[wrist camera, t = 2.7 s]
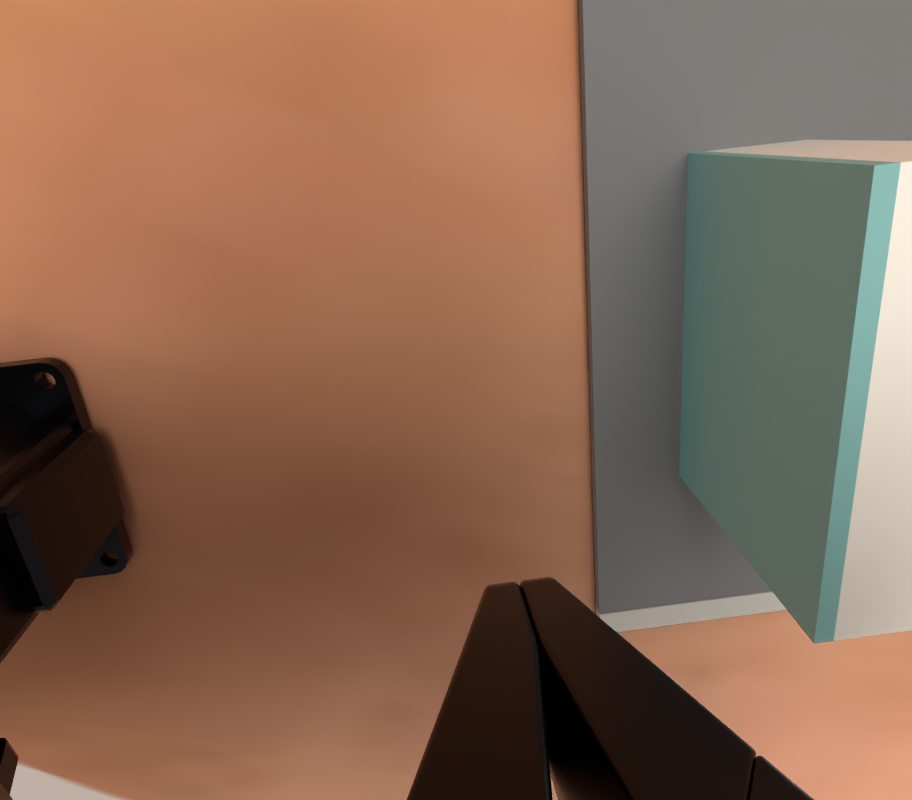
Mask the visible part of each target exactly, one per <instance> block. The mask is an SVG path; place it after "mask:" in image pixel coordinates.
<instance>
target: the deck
mask: <svg viewBox="0 0 912 800" xmlns="http://www.w3.org/2000/svg"><path fill="white" fill-rule="evenodd" d="M679 476H680V477H681V479H682V480H683V481H684V482H685V484H686V485H687V486H688V487H689V489H690V490H691V491H692V492H693V493H694V495H695V496H696V497H697V498H698V500H699V501H700V502H701V503H702V505H703V506H704V507H705V508H706V510H707V511H708V512H709V513H710V515H711V516H712V517H713V518H714V520H715V521H716V522H717V523H718V525H719V526H720V527H721V528H722V530H723V531H724V532H725V533H726V535H727V536H728V537H729V538H730V540H731V541H732V542H733V543H734V545H735V546H736V547H737V548H738V549H739V551H740V552H741V553H742V554H743V556H744V557H745V558H746V559H747V561H748V562H749V563H750V564H751V566H752V567H753V568H754V569H755V571H756V572H757V573H758V574H759V576H760V577H761V578H762V579H763V581H764V582H765V583H766V584H767V586H768V587H769V588H770V589H771V591H772V592H773V593H774V594H775V596H776V597H777V598H778V599H779V601H780V602H781V603H782V604H783V605H784V607H785V608H786V609H787V610H788V612H789V613H790V614H791V615H792V617H793V618H794V619H795V620H796V622H797V623H798V624H799V625H800V627H801V628H802V629H803V630H804V632H805V633H806V634H807V635H808V637H809V638H810V639H811V640H812V642H813V643H821V642H828V641H835V640H843V639H850V638H858V637H865V636H873V635H880V634H887V633H895V632H902V631H910V630H912V141H878V140H800V141H791V142H782V143H773V144H764V145H755V146H747V147H738V148H729V149H720V150H711V151H702V152H694V153H688V168H687V205H686V242H685V280H684V317H683V355H682V392H681V430H680V467H679Z"/></svg>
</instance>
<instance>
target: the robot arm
mask: <svg viewBox="0 0 912 800" xmlns="http://www.w3.org/2000/svg"><path fill="white" fill-rule="evenodd" d="M42 372H48V373H49V374H51V375H52V376H53V377H54V379H55V382H56V385H51V384H49V383H47V382H46V381H45V380H44V378H43V373H42ZM123 514H124V509H123V506H122V503H121V500H120V497H119V494H118V491H117V488H116V485H115V482H114V479H113V476H112V473H111V470H110V467H109V464H108V461H107V458H106V455H105V452H104V449H103V447H102V444H101V441H100V438H99V436H98V435H97V434H96V433H95V432H93V431H92V430H91V428H90V425H89V422H88V419H87V416H86V413H85V410H84V407H83V404H82V401H81V398H80V395H79V393H78V390H77V387H76V384H75V381H74V378H73V375H72V373H71V371H70V369H69V367H68V366H67V365H66V364H64V363H63V362H62V361H60V360H57V359H55V358H40V359H32V360H24V361H15V362H7V363H0V663H1V662H2V661H3V659H4V658H5V657H6V655H7V654H8V653H9V652H10V650H11V649H12V648H13V646H14V645H15V644H16V642H17V641H18V640H19V638H20V637H21V636H22V635H23V633H24V632H25V631H26V629H27V628H28V627H29V625H30V624H31V623H32V621H33V620H34V619H35V618H36V616H37V615H38V614H39V612H44V611H51V610H52V609H53V608H54V607H55V606H56V605H57V603H58V602H59V601H60V599H61V598H62V597H63V595H64V594H65V593H66V591H67V590H68V588H69V587H70V586H71V584H72V583H73V582H74V580H75V579H76V578H84V577H92V576H100V575H108V574H115V573H118V572H121V571H122V570H123V569H124V568H125V567H126V566H127V564H128V562H129V561H130V559H131V557H132V548H131V545H130V542H129V539H128V536H127V533H126V531H125V528H124V525H123V522H122V519H121V517H122V516H123ZM106 552H112V553H114V554H115V555H116V556H117V557H118V559H116V558H111V557H109V556H108V555H107V553H106ZM17 762H18V755H17V754H16V752H15V751H14V749H13V748H12V747H11V745H10V744H9V742H8V741H7V740H6V739H5V738H0V800H12V798H11V797H10V791H11V787H12V783H13V778H14V774H15V770H16V766H17ZM550 773H551V777H552V780H553V784H554V787H555V791H556V794H557V797H558V800H814V799H813V798H811V797H810V796H809V795H808V794H807V793H805V792H804V791H803V790H802V789H800V788H799V787H798V786H797V785H796V784H794V783H793V782H792V781H791V780H790V779H788V778H787V777H786V776H785V775H784V774H782V773H781V772H780V771H779V770H778V769H777V768H775V767H774V766H773V765H772V764H771V763H770V762H768V761H767V760H766V759H765V758H764V757H762V756H757V757H756V752H755V750H754V749H753V748H752V747H750V746H749V745H748V744H747V743H746V742H745V741H743V740H742V739H741V738H740V737H739V736H738V735H736V734H735V733H734V732H733V731H732V730H730V729H729V728H728V727H727V726H726V725H725V724H723V723H722V722H721V721H720V720H719V719H718V718H716V717H715V716H714V715H713V714H712V713H711V712H709V711H708V710H707V709H706V708H705V707H704V706H702V705H701V704H700V703H699V702H698V701H697V700H695V699H694V698H693V697H692V696H691V695H690V694H688V693H687V692H686V691H685V690H684V689H683V688H681V687H680V686H679V685H678V684H677V683H675V682H674V681H673V680H672V679H671V678H670V677H668V676H667V675H666V674H665V673H664V672H663V671H661V670H660V669H659V668H658V667H657V666H656V665H654V664H653V663H652V662H651V661H650V660H649V659H647V658H646V657H645V656H644V655H643V654H642V653H640V652H639V651H638V650H637V649H636V648H635V647H633V646H632V645H631V644H630V643H629V642H628V641H626V640H625V639H624V638H623V637H622V636H620V635H619V634H618V633H617V632H616V631H615V630H613V629H612V628H611V627H610V626H609V625H608V624H606V623H605V622H604V621H603V620H602V619H601V618H599V617H598V616H597V615H596V614H595V613H594V612H592V611H591V610H590V609H589V608H588V607H587V606H585V605H584V604H583V603H582V602H581V601H580V600H578V599H577V598H576V597H575V596H574V595H573V594H571V593H570V592H569V591H568V590H567V589H565V588H564V587H563V586H562V585H561V584H560V583H558V582H557V581H556V580H555V579H553V578H551V577H545V578H538V579H530V580H524V581H522V582H521V584H520V586H519V585H518V583H516V582H508V583H500V584H493V585H488V586H487V587H486V588H485V590H484V592H483V595H482V598H481V601H480V603H479V606H478V609H477V611H476V614H475V617H474V619H473V622H472V625H471V628H470V630H469V633H468V636H467V638H466V641H465V644H464V646H463V649H462V652H461V655H460V657H459V660H458V663H457V665H456V668H455V671H454V674H453V676H452V679H451V682H450V684H449V687H448V690H447V692H446V695H445V698H444V701H443V703H442V706H441V709H440V711H439V714H438V717H437V720H436V722H435V725H434V728H433V730H432V733H431V736H430V738H429V741H428V744H427V747H426V749H425V752H424V755H423V757H422V760H421V763H420V765H419V768H418V771H417V774H416V776H415V779H414V782H413V784H412V787H411V790H410V793H409V795H408V798H407V800H552V789H551V777H550Z"/></svg>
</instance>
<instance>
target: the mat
mask: <svg viewBox="0 0 912 800" xmlns="http://www.w3.org/2000/svg"><path fill="white" fill-rule="evenodd" d="M578 4H579V38H580V73H581V107H582V141H583V176H584V210H585V244H586V279H587V313H588V347H589V382H590V416H591V450H592V485H593V519H594V553H595V588H596V615H597V616H598V617H599V618H601V619H602V620H603V621H604V622H605V623H606V624H608V625H609V626H610V627H611V628H612V629H613V630H615V631H616V632H623V631H630V630H638V629H645V628H653V627H661V626H668V625H676V624H683V623H691V622H698V621H706V620H713V619H721V618H728V617H736V616H743V615H751V614H758V613H766V612H773V611H781V610H787V609H786V608H785V607H784V605H783V604H782V603H781V602H780V601H779V599H778V598H777V597H776V596H775V594H774V593H773V592H772V591H771V589H770V588H769V587H768V586H767V584H766V583H765V582H764V581H763V579H762V578H761V577H760V576H759V574H758V573H757V572H756V571H755V569H754V568H753V567H752V566H751V564H750V563H749V562H748V561H747V559H746V558H745V557H744V556H743V554H742V553H741V552H740V551H739V549H738V548H737V547H736V546H735V545H734V543H733V542H732V541H731V540H730V538H729V537H728V536H727V535H726V533H725V532H724V531H723V530H722V528H721V527H720V526H719V525H718V523H717V522H716V521H715V520H714V518H713V517H712V516H711V515H710V513H709V512H708V511H707V510H706V508H705V507H704V506H703V505H702V503H701V502H700V501H699V500H698V498H697V497H696V496H695V495H694V493H693V492H692V491H691V490H690V489H689V487H688V486H687V485H686V484H685V482H684V481H683V480H682V479H681V477H680V476H679V467H680V430H681V392H682V355H683V317H684V280H685V242H686V205H687V168H688V153H694V152H702V151H711V150H720V149H729V148H738V147H747V146H755V145H764V144H773V143H782V142H791V141H800V140H878V141H912V0H578Z"/></svg>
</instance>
